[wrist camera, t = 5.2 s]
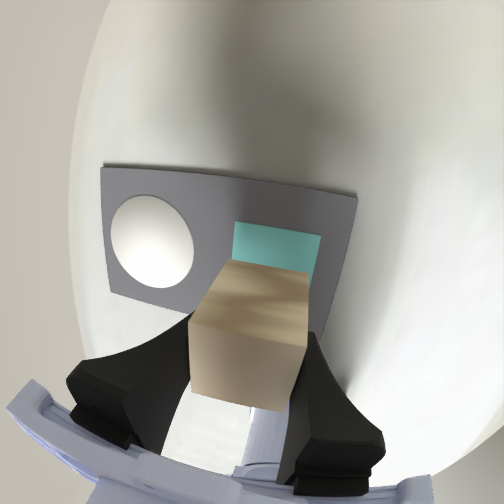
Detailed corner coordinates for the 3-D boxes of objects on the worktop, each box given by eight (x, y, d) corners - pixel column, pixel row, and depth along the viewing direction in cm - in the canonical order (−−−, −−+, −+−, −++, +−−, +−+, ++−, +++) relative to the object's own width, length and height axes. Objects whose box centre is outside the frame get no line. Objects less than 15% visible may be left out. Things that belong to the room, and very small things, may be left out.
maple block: (308, 273, 15) (307, 346, 9) (293, 335, 17) (283, 412, 11) (228, 258, 15) (187, 321, 10) (223, 321, 17) (191, 392, 12)
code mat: (357, 197, 17) (358, 199, 17) (319, 337, 22) (319, 341, 22) (103, 167, 20) (99, 167, 19) (112, 289, 25) (110, 292, 24)
